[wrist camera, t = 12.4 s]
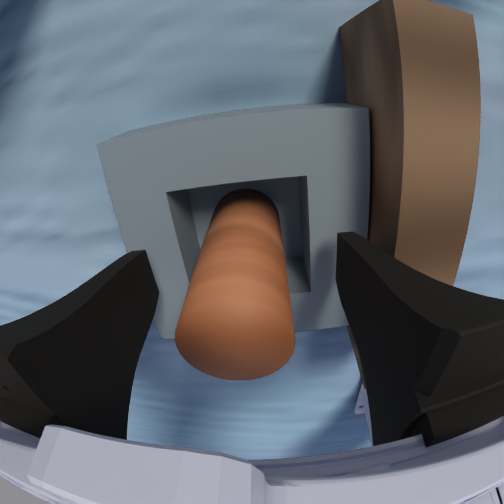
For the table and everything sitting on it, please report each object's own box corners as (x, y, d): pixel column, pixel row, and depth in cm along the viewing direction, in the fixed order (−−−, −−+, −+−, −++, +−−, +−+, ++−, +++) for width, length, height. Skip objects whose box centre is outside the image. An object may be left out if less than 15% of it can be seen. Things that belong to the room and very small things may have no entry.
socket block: (341, 278, 18) (357, 324, 14) (177, 292, 18) (161, 339, 15) (339, 102, 13) (368, 108, 9) (134, 129, 13) (96, 144, 10)
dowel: (280, 246, 15) (293, 378, 8) (217, 250, 16) (188, 379, 9) (277, 186, 14) (296, 296, 7) (209, 191, 14) (161, 301, 7)
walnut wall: (385, 305, 18) (417, 378, 13) (342, 311, 18) (364, 389, 13) (398, 33, 10) (472, 14, 5) (339, 27, 10) (391, -7, 5)
